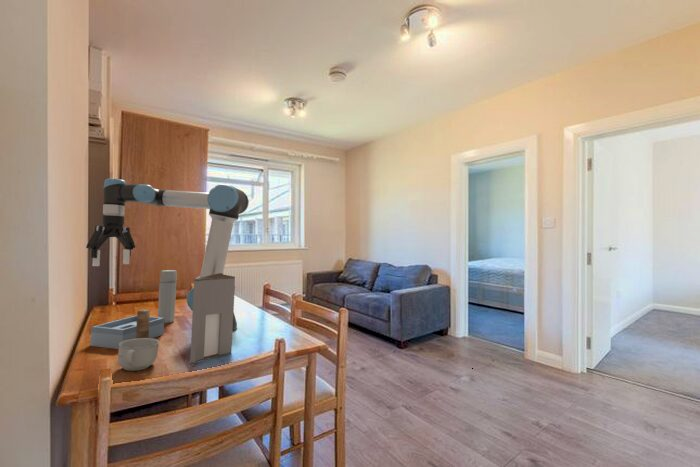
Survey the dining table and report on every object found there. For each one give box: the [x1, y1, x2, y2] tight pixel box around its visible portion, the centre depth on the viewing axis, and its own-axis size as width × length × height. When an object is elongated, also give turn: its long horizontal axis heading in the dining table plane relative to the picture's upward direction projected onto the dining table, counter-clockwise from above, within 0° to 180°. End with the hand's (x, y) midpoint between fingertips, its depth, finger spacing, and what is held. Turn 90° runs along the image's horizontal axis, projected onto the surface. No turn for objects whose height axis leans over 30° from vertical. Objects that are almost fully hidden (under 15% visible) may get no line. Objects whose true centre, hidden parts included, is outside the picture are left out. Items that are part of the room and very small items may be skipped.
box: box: [89, 314, 165, 350], centre depth 129 cm, size 14×20×7 cm
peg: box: [136, 309, 151, 339], centre depth 119 cm, size 4×4×14 cm
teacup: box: [117, 338, 160, 372], centre depth 101 cm, size 14×11×8 cm
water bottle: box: [157, 269, 178, 324], centre depth 158 cm, size 9×8×25 cm
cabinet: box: [189, 272, 236, 366], centre depth 117 cm, size 21×10×28 cm, turn 1°
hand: (111, 265), depth 137 cm, fingers open, 13 cm apart
